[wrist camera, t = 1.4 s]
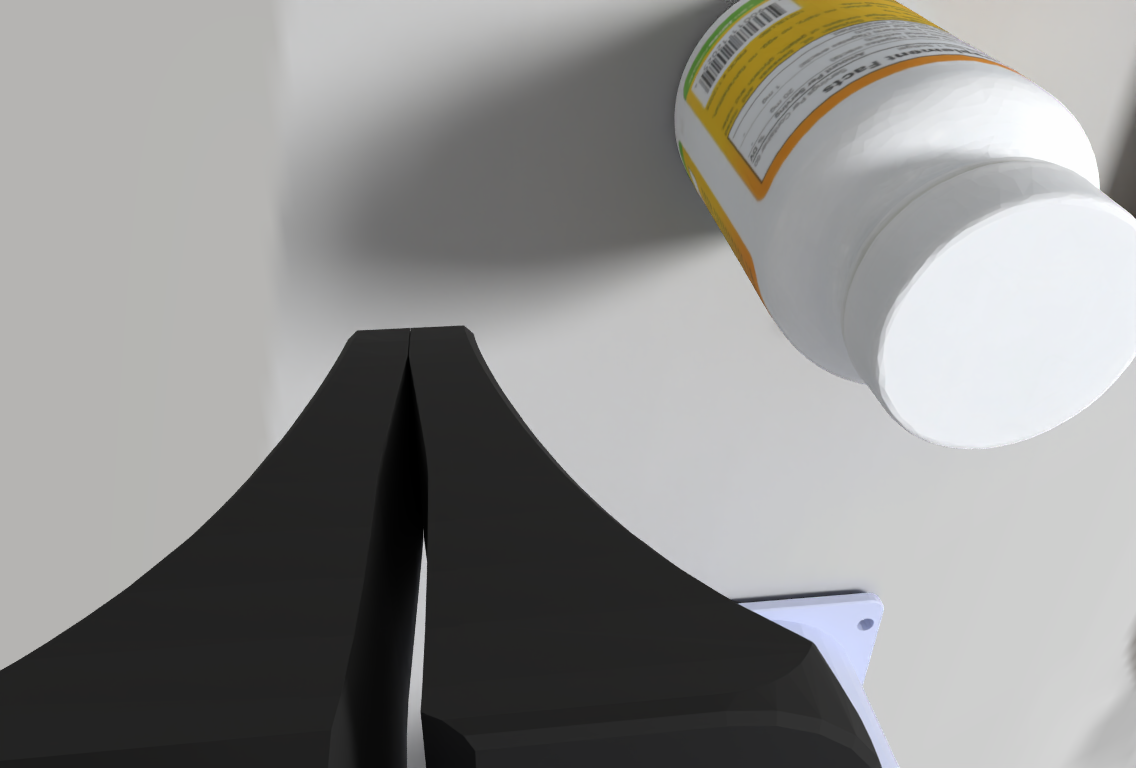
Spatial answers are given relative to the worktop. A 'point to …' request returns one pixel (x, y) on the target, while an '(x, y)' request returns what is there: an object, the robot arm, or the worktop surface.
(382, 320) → the worktop surface
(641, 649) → the robot arm
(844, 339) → the supplement bottle
